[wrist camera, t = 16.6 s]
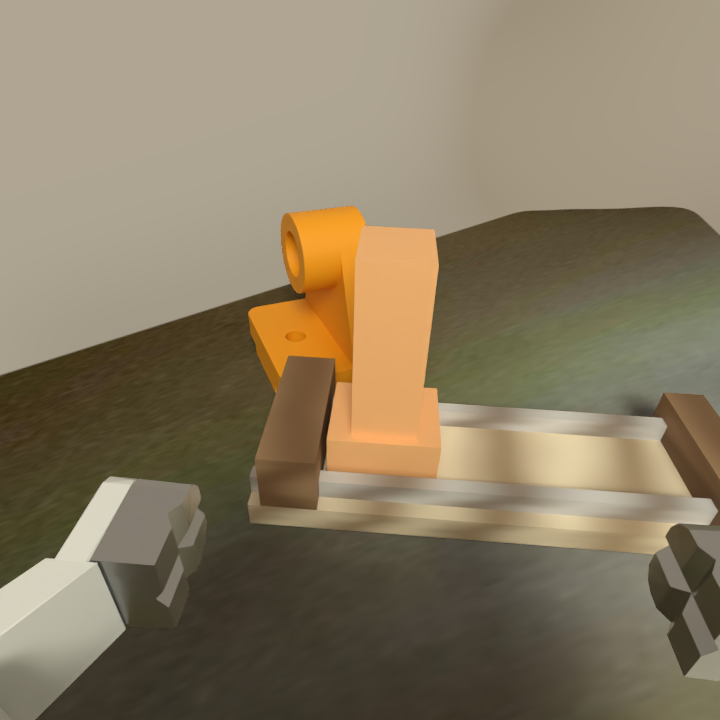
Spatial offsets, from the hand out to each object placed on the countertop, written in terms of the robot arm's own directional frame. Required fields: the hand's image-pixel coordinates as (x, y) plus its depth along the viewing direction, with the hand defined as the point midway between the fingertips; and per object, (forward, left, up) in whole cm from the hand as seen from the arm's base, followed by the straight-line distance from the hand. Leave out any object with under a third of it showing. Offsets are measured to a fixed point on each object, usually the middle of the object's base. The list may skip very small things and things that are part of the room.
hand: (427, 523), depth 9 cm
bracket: (-7, +27, -17) cm, 33 cm away
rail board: (+6, +16, -16) cm, 24 cm away
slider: (-1, +16, -15) cm, 22 cm away
